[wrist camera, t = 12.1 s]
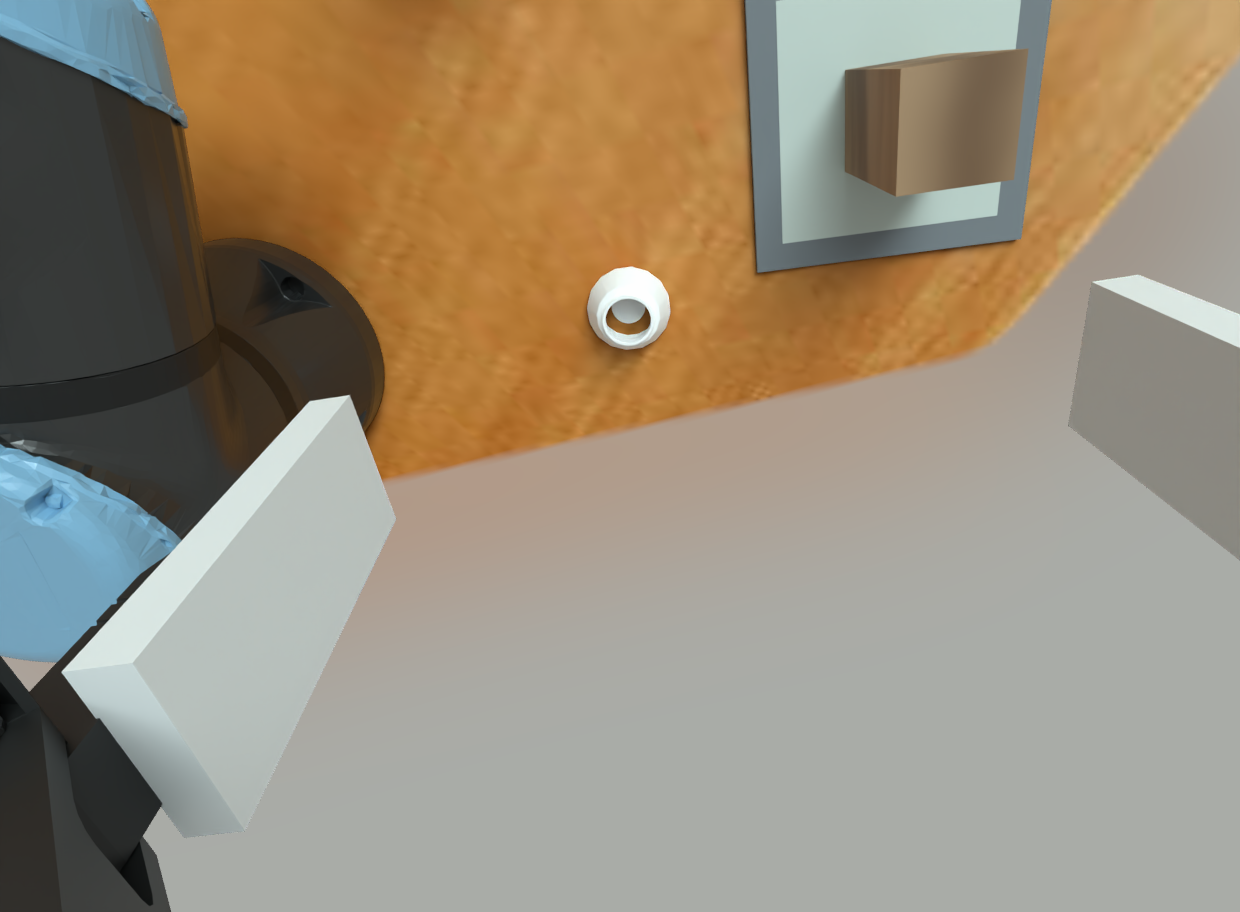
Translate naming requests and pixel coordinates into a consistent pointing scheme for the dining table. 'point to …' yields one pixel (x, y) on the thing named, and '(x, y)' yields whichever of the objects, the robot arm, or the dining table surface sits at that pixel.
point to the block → (935, 121)
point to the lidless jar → (628, 306)
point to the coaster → (815, 126)
